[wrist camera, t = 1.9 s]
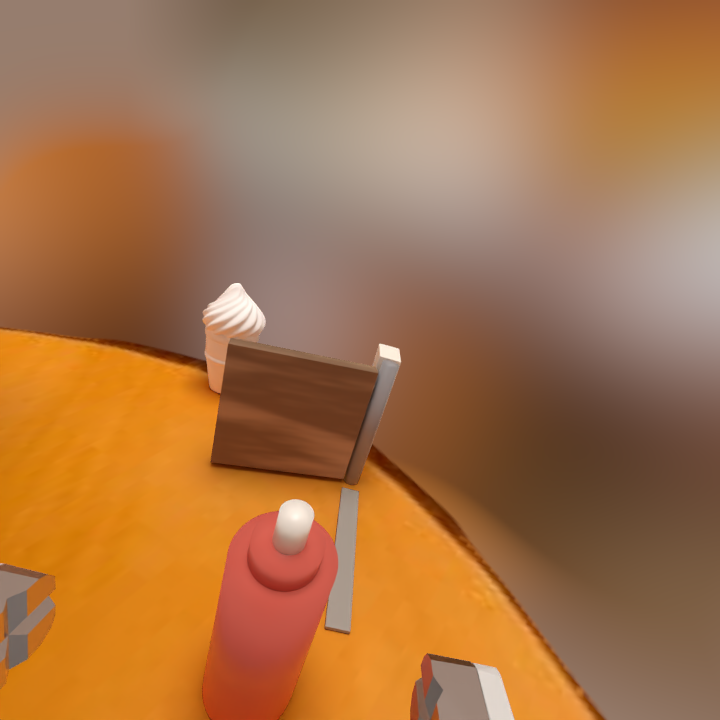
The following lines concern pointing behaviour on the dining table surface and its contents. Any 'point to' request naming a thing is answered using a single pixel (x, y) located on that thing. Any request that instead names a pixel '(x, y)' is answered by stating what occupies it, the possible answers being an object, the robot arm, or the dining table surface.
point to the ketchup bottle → (267, 613)
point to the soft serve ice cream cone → (229, 328)
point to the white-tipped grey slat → (357, 492)
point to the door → (290, 409)
